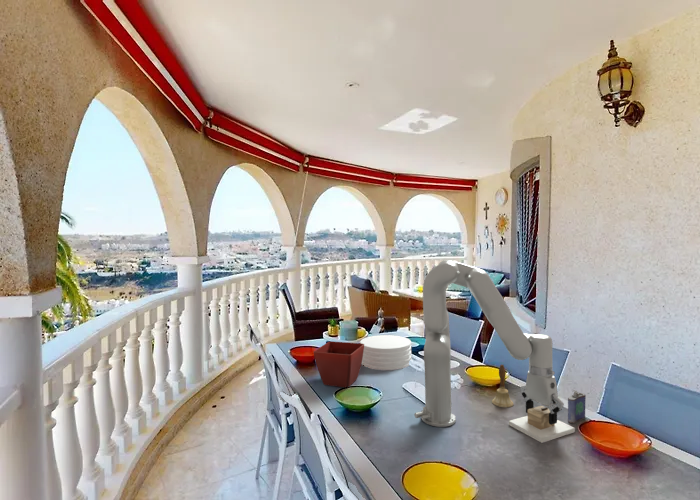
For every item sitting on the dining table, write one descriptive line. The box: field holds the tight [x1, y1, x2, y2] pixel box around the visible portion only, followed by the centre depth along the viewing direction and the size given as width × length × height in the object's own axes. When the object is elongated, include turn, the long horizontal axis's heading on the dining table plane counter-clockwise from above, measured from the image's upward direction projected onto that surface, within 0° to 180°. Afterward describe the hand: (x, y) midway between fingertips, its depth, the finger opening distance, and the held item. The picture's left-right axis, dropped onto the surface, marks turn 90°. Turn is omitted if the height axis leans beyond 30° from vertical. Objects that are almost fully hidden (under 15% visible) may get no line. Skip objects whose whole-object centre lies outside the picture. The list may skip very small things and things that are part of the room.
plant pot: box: [313, 340, 364, 388], centre depth 190 cm, size 19×19×17 cm
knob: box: [527, 405, 555, 430], centre depth 140 cm, size 7×5×6 cm
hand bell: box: [491, 364, 515, 408], centre depth 162 cm, size 8×8×16 cm
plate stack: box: [359, 334, 412, 371], centre depth 219 cm, size 28×28×12 cm
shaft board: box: [508, 415, 576, 444], centre depth 140 cm, size 16×14×5 cm
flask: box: [567, 389, 586, 424], centre depth 146 cm, size 9×3×11 cm, turn 121°
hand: (540, 417), depth 140 cm, fingers open, 9 cm apart
